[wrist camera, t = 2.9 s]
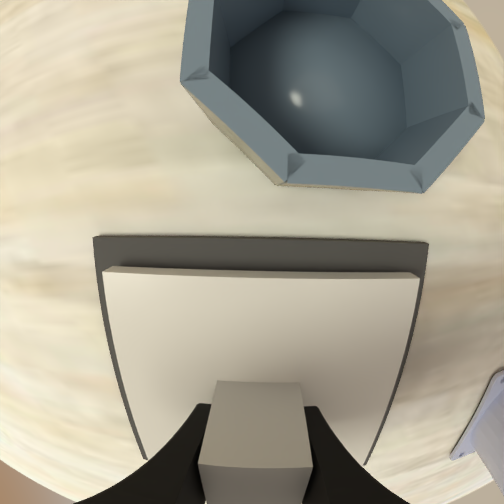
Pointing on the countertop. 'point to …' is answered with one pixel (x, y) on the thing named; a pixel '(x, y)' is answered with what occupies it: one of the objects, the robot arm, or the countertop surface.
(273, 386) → the cover
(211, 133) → the countertop surface
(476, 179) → the countertop surface
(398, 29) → the bowl
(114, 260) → the mat
